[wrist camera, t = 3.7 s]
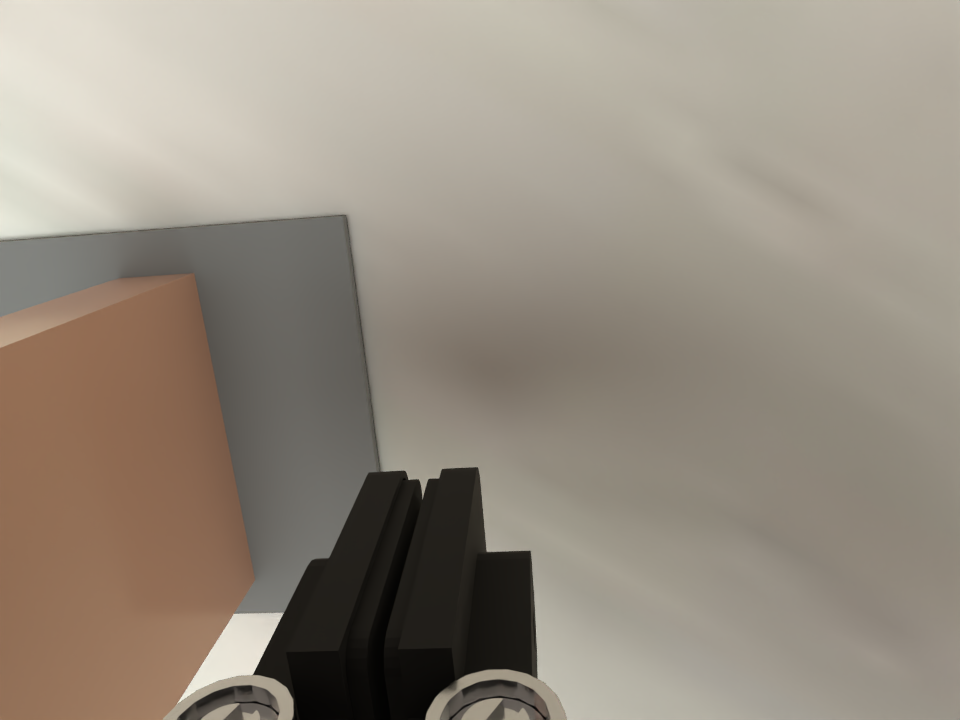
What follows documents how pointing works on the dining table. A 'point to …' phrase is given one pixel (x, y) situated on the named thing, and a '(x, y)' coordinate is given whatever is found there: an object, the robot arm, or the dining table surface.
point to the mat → (252, 366)
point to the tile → (113, 503)
